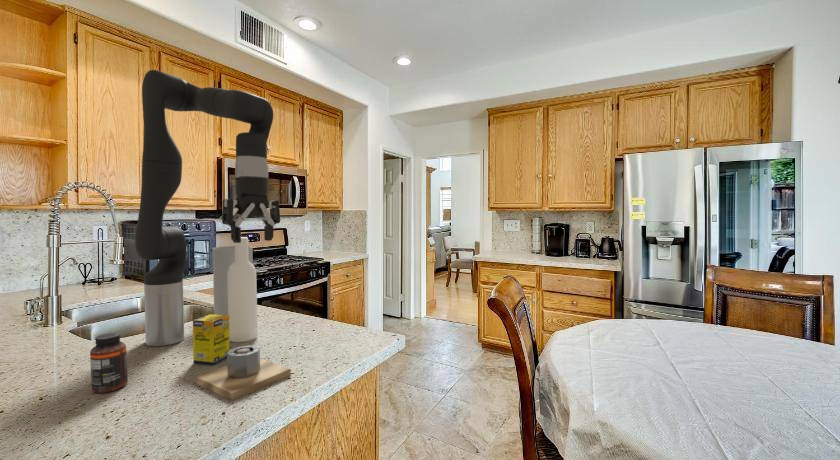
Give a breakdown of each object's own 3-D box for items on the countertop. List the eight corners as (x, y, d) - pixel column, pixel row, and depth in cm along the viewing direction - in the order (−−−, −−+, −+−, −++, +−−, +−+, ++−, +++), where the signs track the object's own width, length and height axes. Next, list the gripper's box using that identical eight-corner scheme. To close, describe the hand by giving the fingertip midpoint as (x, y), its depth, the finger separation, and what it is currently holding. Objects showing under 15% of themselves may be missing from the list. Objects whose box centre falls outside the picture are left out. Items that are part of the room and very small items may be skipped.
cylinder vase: (228, 324, 125) (226, 249, 124) (206, 319, 131) (205, 248, 130) (261, 316, 136) (259, 247, 135) (239, 311, 142) (238, 245, 141)
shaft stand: (195, 383, 82) (194, 353, 82) (254, 362, 94) (253, 336, 94) (231, 400, 75) (231, 368, 74) (290, 375, 86) (290, 347, 86)
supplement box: (213, 365, 92) (212, 321, 91) (192, 363, 93) (191, 319, 93) (230, 356, 98) (229, 314, 97) (210, 354, 99) (209, 313, 98)
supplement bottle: (120, 379, 84) (118, 329, 84) (133, 385, 81) (131, 333, 81) (86, 389, 79) (84, 336, 79) (98, 397, 76) (96, 341, 76)
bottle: (231, 344, 106) (229, 238, 105) (225, 337, 112) (223, 237, 111) (261, 338, 111) (259, 237, 110) (253, 332, 118) (252, 236, 116)
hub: (222, 374, 83) (222, 351, 83) (248, 364, 89) (248, 343, 88) (239, 381, 80) (238, 357, 80) (265, 370, 85) (264, 349, 85)
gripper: (268, 179, 101) (268, 239, 102) (215, 174, 89) (216, 242, 90) (286, 177, 97) (286, 240, 98) (233, 172, 85) (234, 244, 86)
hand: (253, 241), depth 94 cm, fingers open, 8 cm apart
